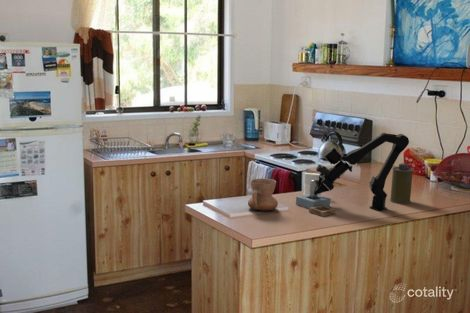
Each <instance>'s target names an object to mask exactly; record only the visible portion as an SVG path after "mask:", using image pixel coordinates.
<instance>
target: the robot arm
mask: <svg viewBox="0 0 470 313" xmlns="http://www.w3.org/2000/svg"><path fill="white" fill-rule="evenodd" d="M386 142H387V143H389V144H390V143H391V144H392V146H391V150H390V152H389V153H388V156H387V158H386V159H385V161H384V163H383V165H382V167H381V169H380V171H379V173H378V174H377V175H376V176H375V175H373V176H372V177H371V179H370V181H369V182H368V183H369V186H368V187H369V190H370V191H371V193H372V194H373V196H372V203H371V205H370V206H369V209H373V210H376V211H385V210H388V207H387V206H386V202H387V200H386V199H387V196H388V194H387V193H386V192H385V190H384V189H385V184H386V180H387V178H388V175H389V174H390V172H391V170H393V168H394V167H393V166H394V165H395V163H396V161H397V159H398V157H399V155H400V154H401V153H402V152H404V150H405V149H406V148H407V147H408V145H409V144H410V140H409V137H408V136H407V135H405V134H403V133H398V134H395V133H386V132H381V133H380V134H379V135H377V136H376V137H375V138H373V139H372V140H370V141H368V142H367V143H366V144H364V145H363V146H360V147H358V148H354V149H353V150H351V151H348V152H346V153H340V152H339V151H338V150H337V149H336V148H335V147H332V148H330V149H329V150H327V151H326V152H325V154H324V155H323V157H324V158H325V159H326V161H327V162H329V164H330V165H334V166H333V167H329V168H328V167H327V166H325V165H323V164H320V163H319V164H317V167H316V169H315V171H316V172H317V173H319V174H320V176H319V180H318V189H317V190H316V191H315V192H314V194H315V195H317V194H320V193H321V194H322V193H326V192H331V191H332V190H334V187H335V186H334V184H335V182H336V181H337V180H339V179H340V178H341V176H342V175H343V174H344V173H345V174H346V172H347V171H349V172H350V173H352V172H353V166H354V165H357V164H358V163H359V162H360V161H361V160H362V159H363V158H364V157H365V156H366V155H368V154H369V153H370V152H372V151H373V150H376V148H378V147H379V146H381V145H383V144H384V143H386Z"/></svg>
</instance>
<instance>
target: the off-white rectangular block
mask: <svg viewBox="0 0 470 313" xmlns="http://www.w3.org/2000/svg"><path fill="white" fill-rule="evenodd" d="M319 176H320V173H313V172H305V173H304V183H303V184H304V185H303V186H304V187H303V195H308V194H310V180H311V179H316V180H319ZM318 195H320V196H322V193H320V194H318Z"/></svg>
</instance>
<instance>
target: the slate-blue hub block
mask: <svg viewBox="0 0 470 313" xmlns="http://www.w3.org/2000/svg"><path fill="white" fill-rule="evenodd" d="M309 195H310V194H308V195H304V194H303V195H298V196H296V197H295V205H297V206H300V207H303V208H306V209H309V208H311V207H316V206H321V205H323V206H326V207H329V208H330V207H331V198H329V197H326V196H323V195H321V196H320V195H318V197H317V199H315V200H313V199H309Z"/></svg>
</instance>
